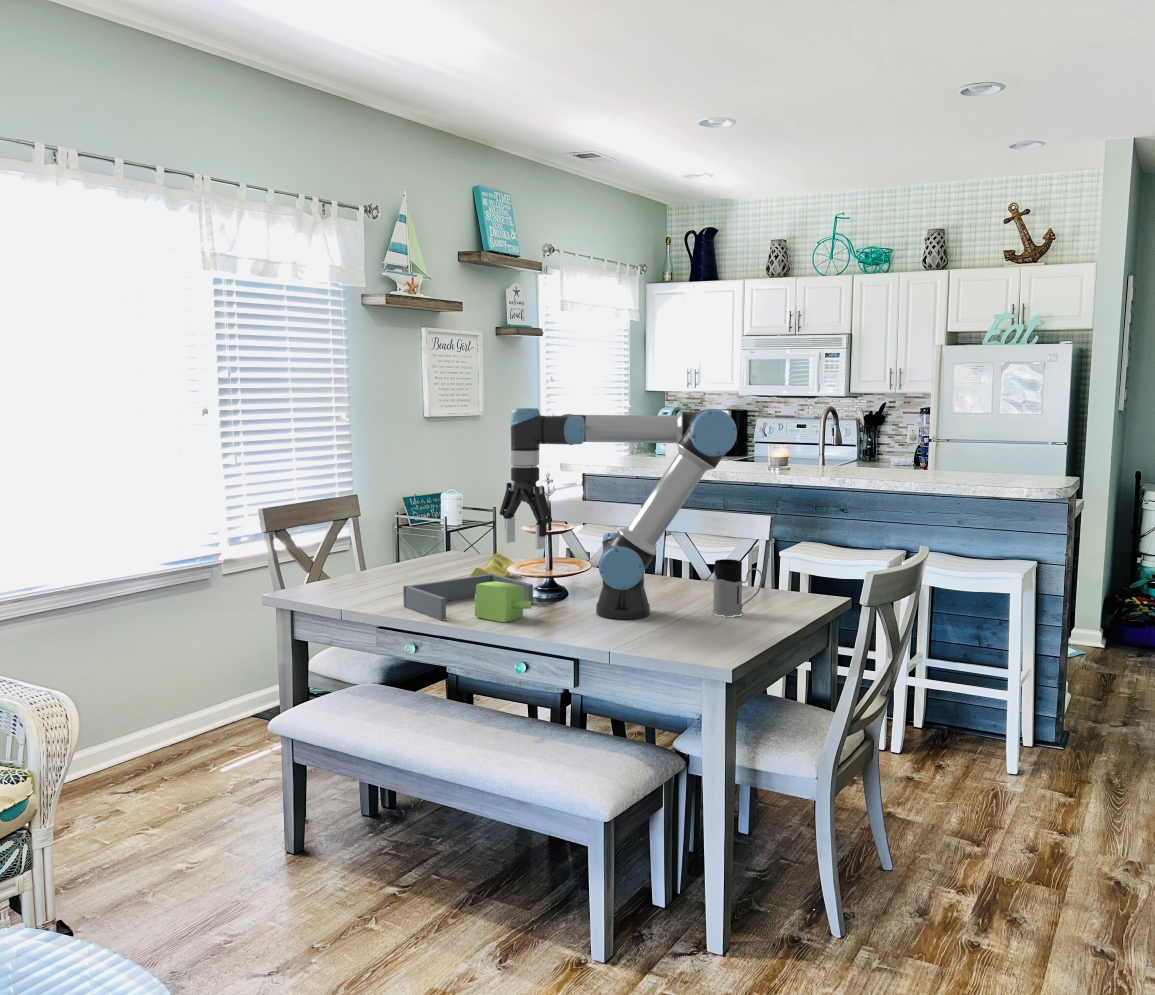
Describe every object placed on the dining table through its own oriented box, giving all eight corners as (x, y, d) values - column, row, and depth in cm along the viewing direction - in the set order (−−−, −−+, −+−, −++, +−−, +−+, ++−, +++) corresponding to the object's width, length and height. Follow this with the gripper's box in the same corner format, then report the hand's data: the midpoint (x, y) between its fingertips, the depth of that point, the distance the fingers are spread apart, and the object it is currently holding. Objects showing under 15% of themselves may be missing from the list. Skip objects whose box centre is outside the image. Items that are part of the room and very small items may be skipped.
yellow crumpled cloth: (500, 579, 301) (473, 565, 303) (491, 598, 303) (464, 584, 305) (518, 564, 320) (493, 550, 321) (510, 582, 322) (485, 568, 323)
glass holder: (717, 609, 271) (718, 557, 269) (765, 614, 265) (767, 562, 263) (707, 615, 263) (708, 562, 262) (756, 621, 257) (757, 567, 255)
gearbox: (540, 620, 259) (541, 586, 259) (518, 626, 251) (520, 591, 250) (488, 610, 269) (490, 577, 268) (466, 615, 261) (467, 581, 260)
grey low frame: (532, 604, 276) (532, 584, 275) (441, 620, 256) (440, 598, 256) (492, 592, 292) (492, 573, 291) (403, 606, 272) (403, 586, 272)
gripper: (565, 468, 242) (565, 550, 245) (509, 462, 261) (509, 538, 264) (542, 470, 237) (542, 553, 240) (486, 464, 257) (487, 540, 259)
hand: (525, 545), depth 252 cm, fingers open, 13 cm apart
